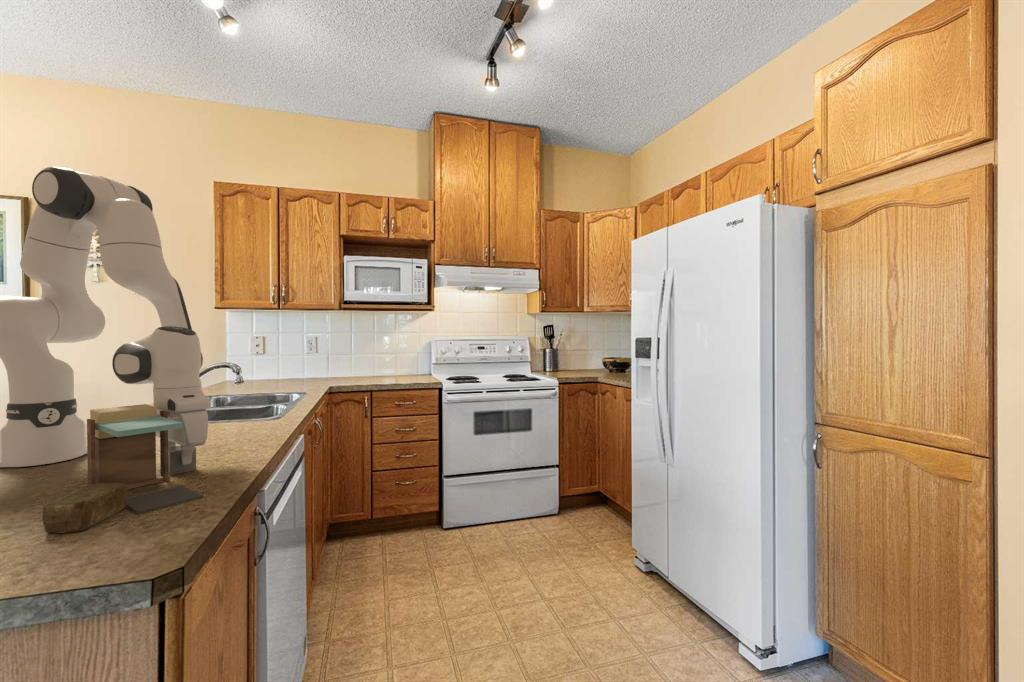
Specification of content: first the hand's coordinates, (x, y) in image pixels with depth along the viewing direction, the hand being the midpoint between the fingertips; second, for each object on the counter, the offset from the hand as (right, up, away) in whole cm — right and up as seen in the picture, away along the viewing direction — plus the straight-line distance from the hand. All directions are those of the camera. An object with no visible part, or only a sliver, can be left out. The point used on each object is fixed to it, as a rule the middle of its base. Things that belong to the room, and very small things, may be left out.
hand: (178, 461), depth 106 cm
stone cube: (0, -2, 0) cm, 2 cm away
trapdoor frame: (-3, -2, -11) cm, 11 cm away
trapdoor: (+1, +8, -14) cm, 16 cm away
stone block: (+5, -3, -28) cm, 29 cm away
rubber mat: (+10, -2, -19) cm, 21 cm away
